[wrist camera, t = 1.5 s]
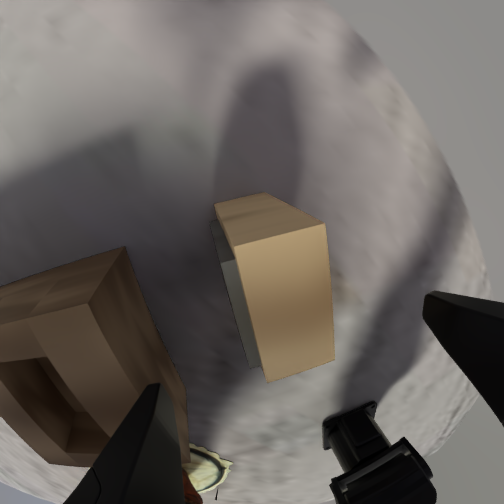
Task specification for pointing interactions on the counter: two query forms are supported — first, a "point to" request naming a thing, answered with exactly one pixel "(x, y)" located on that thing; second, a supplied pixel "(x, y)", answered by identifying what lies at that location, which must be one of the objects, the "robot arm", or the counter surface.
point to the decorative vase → (202, 473)
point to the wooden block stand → (80, 358)
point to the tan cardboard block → (276, 283)
